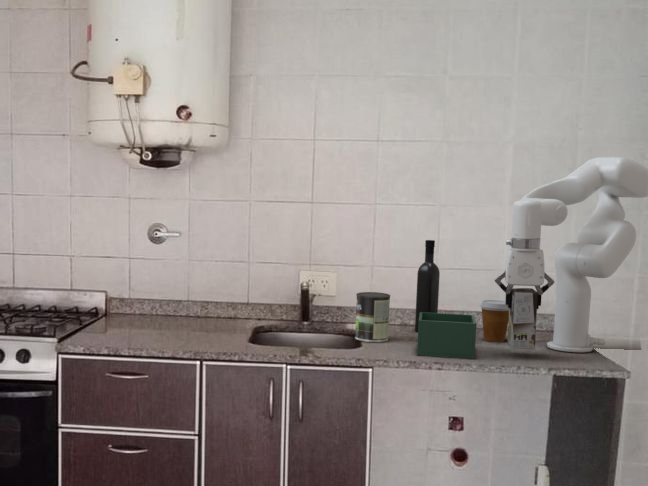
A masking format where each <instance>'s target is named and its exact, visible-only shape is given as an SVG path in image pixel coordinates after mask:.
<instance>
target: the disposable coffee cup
mask: <svg viewBox="0 0 648 486" xmlns="http://www.w3.org/2000/svg"><path fill="white" fill-rule="evenodd" d="M505 301H506V300H501V299H500V300H497V299H485V300H482V301H481V304H479V306H480V309H481V319H482V334H483V340H484V341H488V342H492V343H494V342H495V343H503V342H505V341H506V336H507V332H508V327H509V308H508V305H506V304H505Z"/></svg>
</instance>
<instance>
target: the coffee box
mask: <svg viewBox="0 0 648 486" xmlns="http://www.w3.org/2000/svg"><path fill="white" fill-rule="evenodd" d="M511 294H512V300H511V308H509V321H508V326H507V343H508V345H509V346H510V348H511V349H515V350H536V334H537V318H538V317H537V315H538V314H537V312H538V309H537V298H538V292H537V290H536V289H534V288H531V287H518V288H517V287H516V288H514V287H513V288H512V290H511Z"/></svg>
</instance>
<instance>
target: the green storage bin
mask: <svg viewBox="0 0 648 486" xmlns="http://www.w3.org/2000/svg"><path fill="white" fill-rule="evenodd" d="M476 339H477V320H476V316H475V315H474V314H462V313H444V312H443V313H442V312H438V313H428V312H420V315H419V324H418V332H417V345H416V347H417V349H416V355H417V356H422V357H423V356H425V357H439V358H455V359H468V360H469V359H470V360H475V359H476V341H477V340H476Z"/></svg>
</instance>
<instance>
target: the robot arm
mask: <svg viewBox="0 0 648 486" xmlns="http://www.w3.org/2000/svg"><path fill="white" fill-rule="evenodd" d="M594 193H596V199H597V204H596V207H595V208H594V211H593V212H592V213H591V214H590V216H589V217H588V218H587V220H585V222H584V224H583V225H582V226H581V228H579V230H578V233H577V238H576V240H577V242H567V243H563V244H562V245H560V246H558V248H557V249H556V251H555V254H554V267H555V273H556V275H555V276H556V290H555V304H554V305H555V306H554V320H553V334H552V341H551V340H550V341H548V342H547V343H546V347H547V348H548V349H551V350H555V351H559V352H565V353H566V352H567V353H590V352H592V351H593V350H594V347H593V346H594V345H598V346H605V345H606V338H602V337H601V338H599V337H594V336H591V334H589V326H590V315H591V314H590V312H591V301H592V288H591V285H590V283H589V281H588V279H587V278H594V279H608V278H610V277H612V276H613V275H614V274H615V273H616V272H617V270H618V269H619V268H620V266H621V265H622V264H623V262H624V261H625V260H626V258H627V257H628V256H629V254H630V253H631V251H632V250H633V248H634V246H635V244H636V240H637V230H636V227H635V226H634V225H633V224H632V223H631V222H630V221H628V220H625V216H626V213H625V209H624V206H622V204H621V202H620V198H637V199H639V198H640V199H641V198H643V199H644V198H647V197H648V167H646V166H644V165H643V164H641V163H639V162H637V161H635V160H634V159H631V158H628V157H625V156H597V157H593V158H590V159H589V160H587V161H586V162H584V163H583V164H581V165H580V166H579V167H577V168H576V169H575V170H574V171H572V172H571V173H569V174H568V175H567V176H565V177H563V178H559V179H556V180H554V181H552V182H549V183H546V184H543V185H540V186H538V187H536V188H534V189H532V190H531V191H530V192H528V193H527V194H525V195H524V196H523V197H522V198H520V199H519V200H516V201H514V203H513V205H512V220H511V221H512V224H511V238H510V239H506V240H505V245H506V246H510V247H511V248H509V249H508V251H507V257H506V262H505V270H504V271H503V272H501V273H500V274H499V275H498V276H496V277H495V278H494V283H495V284H496V285H497V286H498V287H499V288H500V289H501V290H502V291H503V292H504V293H505V300H504V301H505V304H506V305H508V308H511V300H512V294H511V290H512V288H514V286H519V287H520V286H521V287H522V286H523V287H524V286H525V287H534V288H535V291H536V292H538V298H537V310H539V308H540V307H541V306H542V296H543V295H544V293H545V292H547V291H548V290H549V288H551V287H552V286H553V285H554V284H555V280H554V279H553V278H552V277H551V276H549V275H548V274H547V272H545V255H544V250H543V249H541V235H542V226H545V227H548V226H549V227H555V226H559V225H561V224H563V223H564V222H565V221H566V219H567V217H568V213H569V210H568V207H567V206H570V205H576V204H579V203H582V202H585V201H586V200H587V199H588V198H589V197H590V196H592V195H593V194H594ZM503 279H504V281H505V283H506V285H505V284H504V283H503V282H502V280H503ZM545 281H546V283H545ZM544 283H545V284H544Z"/></svg>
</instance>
